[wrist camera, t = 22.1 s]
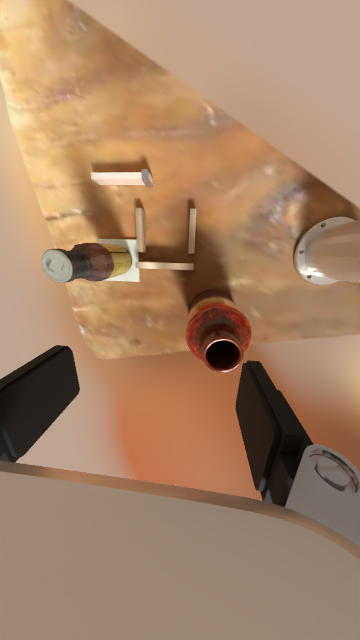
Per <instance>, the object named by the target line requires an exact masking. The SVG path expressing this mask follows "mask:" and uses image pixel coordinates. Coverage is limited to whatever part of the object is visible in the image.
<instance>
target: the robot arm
mask: <svg viewBox="0 0 360 640" xmlns="http://www.w3.org/2000/svg"><path fill="white" fill-rule="evenodd" d="M299 251H300V253H299ZM294 263H295V268H296V271H297V272H298V274H299V275H300V276H301V277H302V278H303V279H304V280H306V281H307V282H310V283H313V284H320V285H325V284H331V283H335V282H337V281H339V280H345V281H352V282H359V283H360V220H357V221H355V220H354V219H351V218H348V217H333V218H329V219H326V220H323V221H321V222H319V223H317V224H315V225H314V226H313V227H311V228H310V229H309V230H308V231H307V232H306V233H305V234H304V235H303V236H302V238H301V239H300V241H299V243H298V245H297V247H296V251H295V256H294ZM307 276H308V277H307ZM79 390H80V387H79V382H78V377H77V372H76V367H75V362H74V357H73V352H72V350H71V349H70V348H69V347H68V346H60V345H57V346H54V347H53V348H51V349H49V350H48V351H46V352H44V353H43V354H41V355H39V356H38V357H36V358H35V359H33V360H31V361H30V362H28V363H26V364H25V365H23V366H21V367H20V368H18V369H17V370H15V371H13V372H12V373H10V374H8V375H7V376H5V377H3V378H2V379H0V640H360V473H359V471H358V470H357V469H356V468H355V467H354V465H352V464H351V463H350V462H349V461H348V460H347V459H346V458H345V457H343V456H342V455H340V454H339V453H337V452H336V451H334V450H332V449H330V448H328V447H324V446H321V445H314V444H313V443H312V441H311V440H310V438H309V436H308V435H307V433H306V431H305V430H304V428H303V427H302V425H301V423H300V422H299V420H298V418H297V417H296V415H295V414H294V412H293V410H292V409H291V407H290V406H289V404H288V402H287V401H286V399H285V397H284V396H283V394H282V393H281V392H280V391H279V390H277V389H276V388H275V386H274V384H273V383H272V381H271V379H270V378H269V376H268V374H267V373H266V371H265V369H264V368H263V366H262V364H261V363H260V362H259V361H247V363H243V366H242V372H241V377H240V383H239V388H238V394H237V400H236V412H237V417H238V420H239V425H240V429H241V433H242V437H243V441H244V445H245V449H246V453H247V457H248V461H249V465H250V469H251V474H252V478H253V481H254V485H255V488H256V490H257V491H260V492H261V495H262V499H263V501H260V500H255V499H251V498H246V497H241V496H235V495H229V494H223V493H217V492H212V491H206V490H199V489H194V488H187V487H180V486H174V485H167V484H159V483H153V482H146V481H139V480H133V479H126V478H120V477H112V476H106V475H99V474H91V473H85V472H78V471H70V470H63V469H56V468H49V467H42V466H35V465H27V464H20V463H15V462H16V461H17V460H18V459H19V458H20V457H22V456H23V455H24V454H26V453H27V451H28V450H29V449H30V448H31V447H32V446H33V445H34V443H35V442H36V441H37V440H38V439H39V438H40V436H42V434H43V433H44V432H45V431H46V430H47V429H48V428H49V427H50V425H51V424H52V423H53V422H54V421H55V420H56V419H57V417H58V416H59V415H60V414H61V413H62V412H63V411H64V410H65V408H66V407H67V406H68V405H69V404H70V403H71V402H72V401H73V399H74V398H75V397H76V396H77V395H78V393H79Z"/></svg>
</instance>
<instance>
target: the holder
mask: <svg viewBox="0 0 360 640" xmlns="http://www.w3.org/2000/svg"><path fill="white" fill-rule="evenodd" d="M196 213H197V210H196V209H190V224H189V246H188V254H194V249H195V231H196ZM135 215H136V236H137V252H146V233H145V211H144V210H143V209H142V208H135ZM135 265H136V268H150V269H176V270H193V268H194V263H167V262H135Z"/></svg>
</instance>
